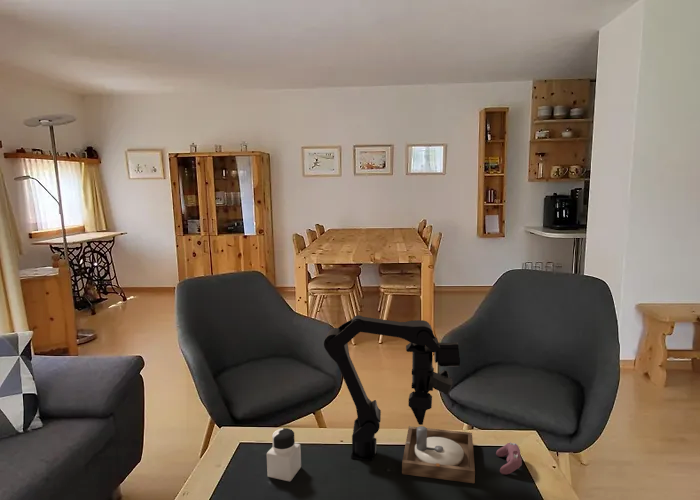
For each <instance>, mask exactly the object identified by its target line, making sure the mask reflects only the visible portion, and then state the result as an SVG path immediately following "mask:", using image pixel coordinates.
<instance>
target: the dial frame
mask: <svg viewBox="0 0 700 500" xmlns="http://www.w3.org/2000/svg"><path fill="white" fill-rule="evenodd" d="M417 427H418V426H410V425H409V426H408V429H407V435H406V438H405V444H404V445H405V446H404V451H403V455H402V461H401V462H402V463H401V475H409V476H416V477H423V478H431V479H437V480H438V479H439V480H445V481H453V482H454V481H455V482H461V483H468V484H475V481H476V480H475V478H476V477H475V475H476V470H475V469H476V468H475V454H474V442H473V440H474V439H473V432H467V431H460V430H449V429H448V430H447V429H439V428H430V427H426V428H427V438H428V437H443V438H447V439H450V440H452V441H454V442H456V443H457V444H459V445H460V446H461V447H462V449H463V452H464V456H463V461H462V462H461V463H460V464H459V465H457V466H449V465H441V464H438V463H436V464H433V463H425V462H420V461H419V460H418V459H417V457H416V455H415V445H416V443H417Z"/></svg>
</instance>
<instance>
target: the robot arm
mask: <svg viewBox="0 0 700 500" xmlns="http://www.w3.org/2000/svg"><path fill="white" fill-rule="evenodd" d="M360 333H364V334H373V335H380V336H385V337H386V336H387V337H393V338H400V339H403V340H405V341H407V342H408V344H407V345H406V346H405V350H406V353H407V352H408V353H412V355H411V357H412V358H411V359H412V361H411V363H412V367H411V368H412V369H411V376H412V377H411V378H412V380H411V389H414V390H413V391H411V392H410V393H409V396H408V407H409V408H410V409H411V412H412V413H413V415H414V417H415V419H416V422H417V424H418V425H419V426H423V425H424V420H425V416H426V412H427V411H428V410H431V409H432V407H433V396H432V395H431V394H430V393H429V392H433V391H434V390H436V391H438V392H440V393H443V395H447V396H448V395H449V394H450V392H451V390H452V387H453V379H452V377H450V376H449V371H448V370H446V369H443V370H441V371H438V372H435V370H434V369H435V368H434V366H433V357H434V363H435V364H437V365H438V367H454V368H458V367H460V366H461V365H460V364H461V356H460V348H459V342H457V341H451V342H439V341H438V337H436V336H435V334H434V331H433V328H432V326H431V324H430V323H429V322H428V321H426V320H424V319H423V320H421V319H420V320H419V319H418V320H416V319H415V320H409V321H408V320H407V321H396V320H389V319H382V318H374V317H370V316H369V317H367V316H362V315H359V314H358V315H354V316H353V317H352V318H350V320H348V321H346V322H344V323H342V324H341V325H339V326H338V327H333V328H331V329H329V330H328V332H327V334H326V336H325V338H324V342H323V348H324V350H325V351H326V353H327V354H328V356H329V357H330V358H331V359H332V361H333V362H334V363H336V365H337V367H338V370H339V371H340V374H341V376H342V378H343V381H344V382H345V385H346V388H347V389H348V391H349V394H350V396H351V398H352V401H353V404H354V405H355V406H354V407H355V408H356V409H355V410H356V416H357V418H356V419H354V422H353V429H352V430H353V431H352V435H351V447H352V449H351V450H352V451H351V455H350V458H351V459H353V460H354V459H355V460H363V461H370V462H372V461H373V460H374V457H375V456H376V453H377V438H376V437H375V435H376V434H377V433H378V432H379V431H380V425H381V424H380V423H381V419H382V418H381V415H382V414H381V413H382V410H381V409H380V408H379V406H378V403H377V400H376V399H375V400H370V398H369V397H368V395H367V393H366V390H365V388H364V386H363V384H362V382H361V381H362V380H361V379H360V377H359V375H358V372H357V369H356V368H355V365H354V363H353V360H352V359H351V356H350V355H351V354H350V349H349V344H348V343H350V342H351V340H353V339H354V337H356V336H357V335H359V334H360Z"/></svg>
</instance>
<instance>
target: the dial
mask: <svg viewBox="0 0 700 500" xmlns="http://www.w3.org/2000/svg"><path fill="white" fill-rule="evenodd" d="M416 427H417V443H416V445H415V455H416V457H417V459H418V460H419V461H420V462H425V463H433V464H436V463H438V464H441V465H449V466H457V465H459V464H460V463H461V462H462V461H463V456H464V452H463V449H462V447H461V446H460V445H459V444H457V443H456V442H454V441H452V440H450V439H447V438H443V437H428V438H427V428H428V427H427V426H426V427H425V426H423V425H419V426H416Z"/></svg>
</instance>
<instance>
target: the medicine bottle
mask: <svg viewBox="0 0 700 500" xmlns="http://www.w3.org/2000/svg"><path fill="white" fill-rule="evenodd" d="M271 437H272V447H271V448H270V449H269V450H268V451H267V452H266V470H267V477H268V478H272V479H277V480H282V481H285V482H291V481H292V480H293V478H294V477H295V476H296V474H297V473H298V472H299V470H300V469H301V468H302V451H301V446H302V445H301V444H300V443H296V442H295V441H296V440H295V432H294V431H293V430H292V429H291V428H289V427H288V428H287V427H286V428H285V427H283V428H282V427H281V428H279V429H276V430H275V431H274V432H273V433H272V436H271Z"/></svg>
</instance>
